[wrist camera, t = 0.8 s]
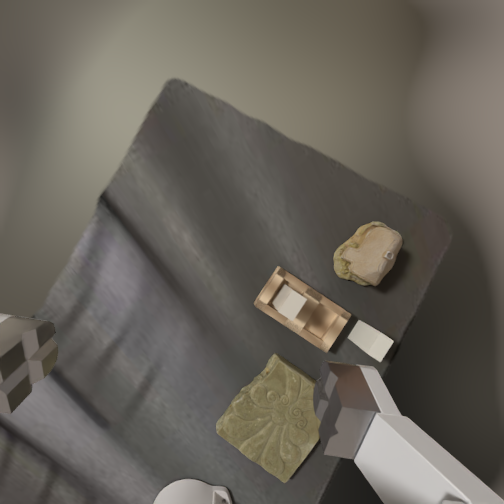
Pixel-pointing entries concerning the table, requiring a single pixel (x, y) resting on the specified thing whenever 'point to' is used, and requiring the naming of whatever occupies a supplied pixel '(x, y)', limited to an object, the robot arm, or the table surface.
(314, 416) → the decorative tile
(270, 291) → the rack
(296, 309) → the white upright prism
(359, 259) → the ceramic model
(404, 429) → the robot arm
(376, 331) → the white rectangular block
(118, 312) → the table surface
